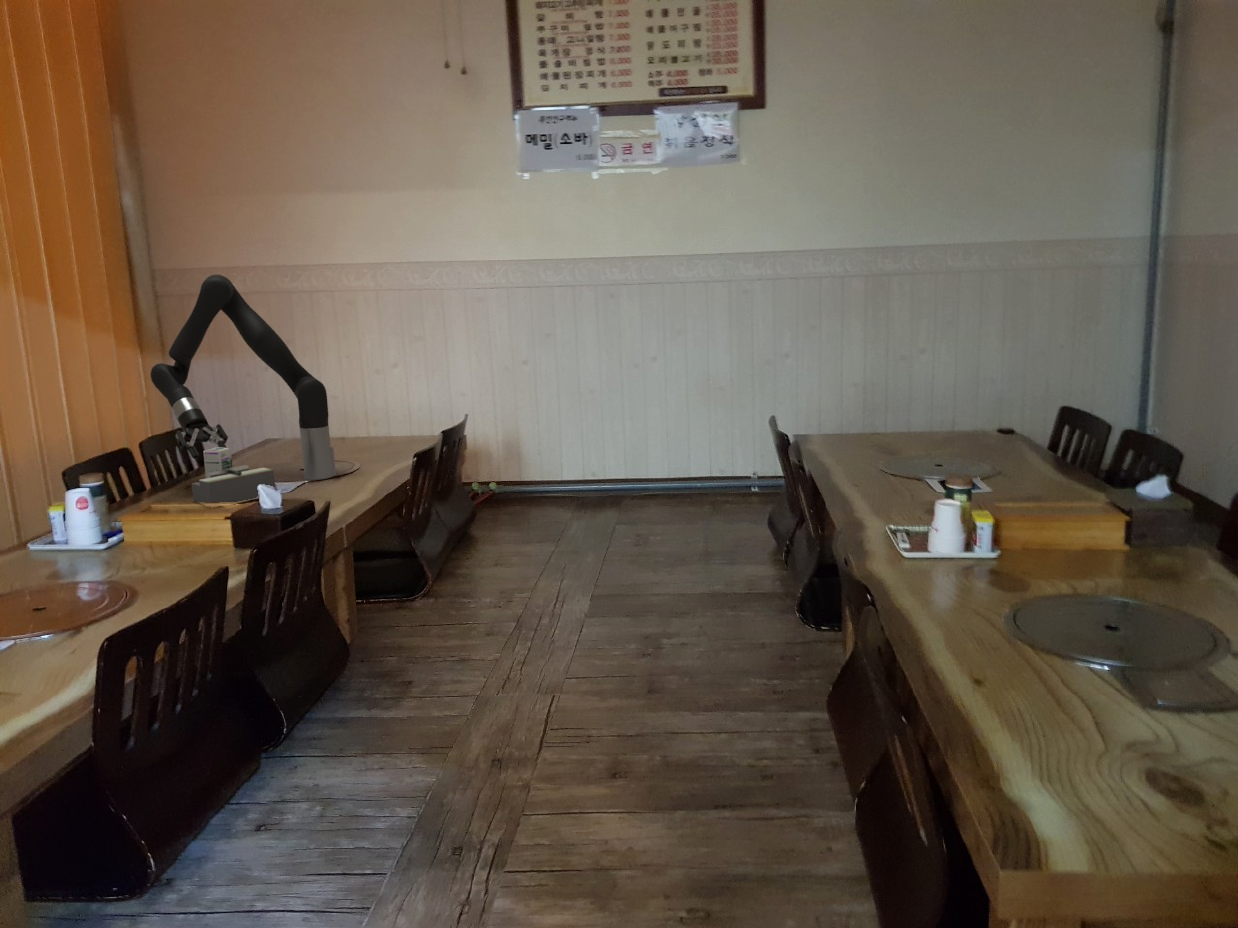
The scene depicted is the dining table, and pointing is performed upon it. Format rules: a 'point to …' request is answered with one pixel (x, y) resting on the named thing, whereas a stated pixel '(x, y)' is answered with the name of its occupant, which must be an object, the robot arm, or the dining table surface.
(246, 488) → the block
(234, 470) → the gauge pad
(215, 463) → the syrup box
